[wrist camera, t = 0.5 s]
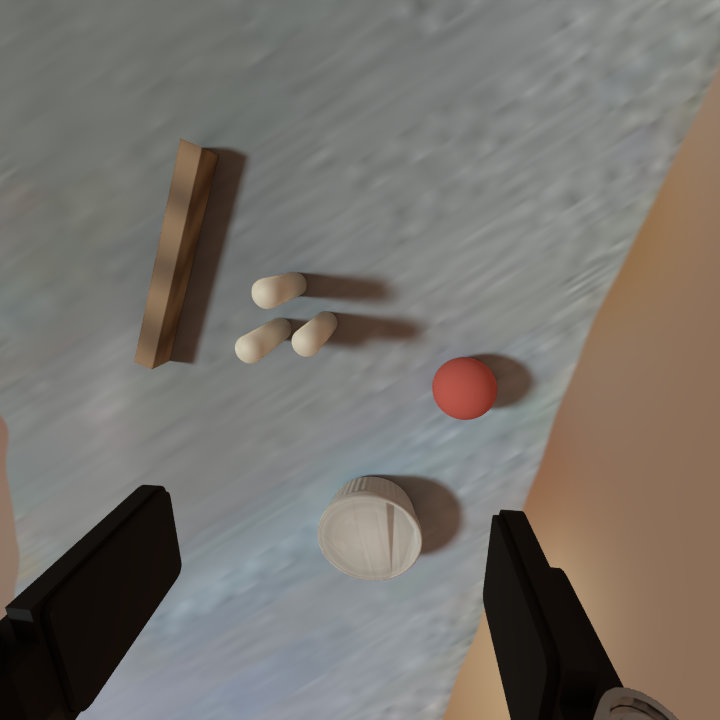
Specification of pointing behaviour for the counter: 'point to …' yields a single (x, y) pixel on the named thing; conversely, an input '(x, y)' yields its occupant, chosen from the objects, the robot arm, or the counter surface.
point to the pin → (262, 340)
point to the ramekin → (370, 530)
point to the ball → (464, 388)
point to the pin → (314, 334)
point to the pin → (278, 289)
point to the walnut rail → (175, 252)
